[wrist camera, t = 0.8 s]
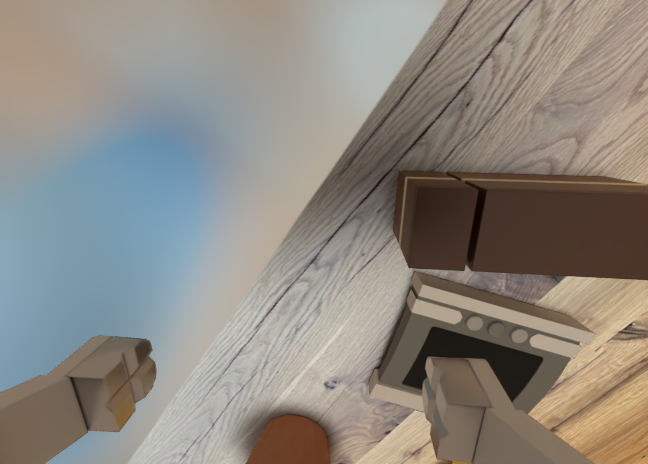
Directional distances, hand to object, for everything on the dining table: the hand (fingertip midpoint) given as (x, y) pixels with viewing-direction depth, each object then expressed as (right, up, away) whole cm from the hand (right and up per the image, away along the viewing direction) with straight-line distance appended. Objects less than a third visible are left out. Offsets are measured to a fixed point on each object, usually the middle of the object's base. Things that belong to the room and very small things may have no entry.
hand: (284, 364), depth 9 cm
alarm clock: (+17, -10, +26) cm, 33 cm away
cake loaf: (+20, +6, +20) cm, 29 cm away
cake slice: (+10, +7, +21) cm, 24 cm away
